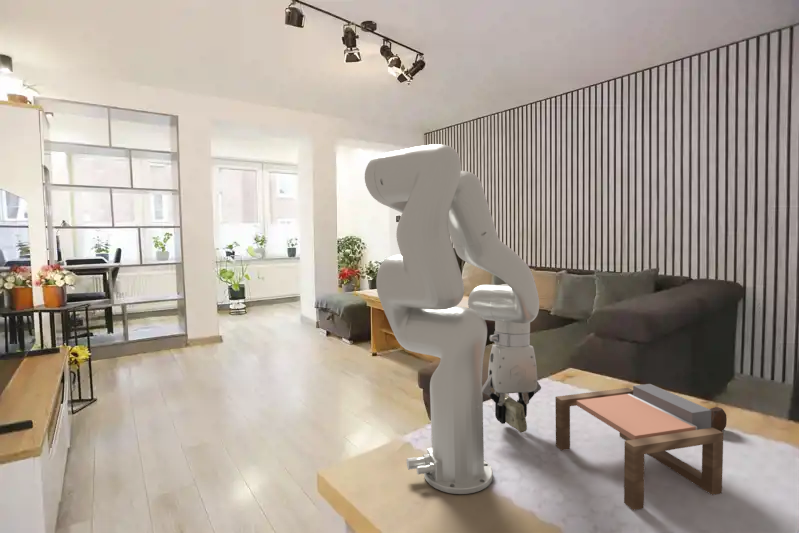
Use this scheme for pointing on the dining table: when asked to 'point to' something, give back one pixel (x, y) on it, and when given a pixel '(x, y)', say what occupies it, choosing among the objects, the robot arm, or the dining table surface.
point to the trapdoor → (648, 412)
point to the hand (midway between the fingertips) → (510, 420)
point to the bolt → (718, 418)
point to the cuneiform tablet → (515, 414)
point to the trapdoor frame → (652, 451)
